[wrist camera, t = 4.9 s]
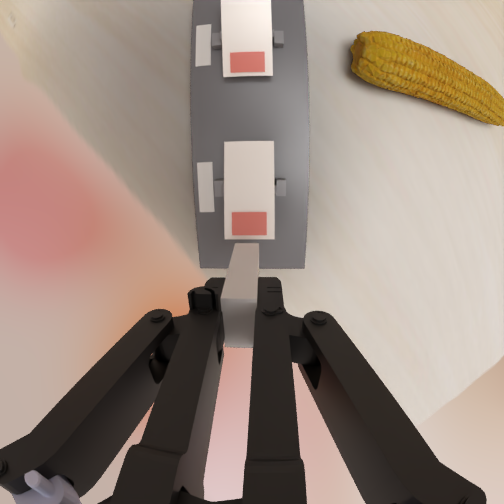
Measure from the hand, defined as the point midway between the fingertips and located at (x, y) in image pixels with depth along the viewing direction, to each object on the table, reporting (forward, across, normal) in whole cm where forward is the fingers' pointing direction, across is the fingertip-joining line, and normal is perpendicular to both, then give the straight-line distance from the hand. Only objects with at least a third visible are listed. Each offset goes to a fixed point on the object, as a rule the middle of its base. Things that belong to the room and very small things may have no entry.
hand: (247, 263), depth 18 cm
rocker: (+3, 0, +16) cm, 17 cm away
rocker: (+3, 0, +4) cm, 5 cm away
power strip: (+9, 0, +13) cm, 16 cm away
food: (+9, +19, +16) cm, 27 cm away
